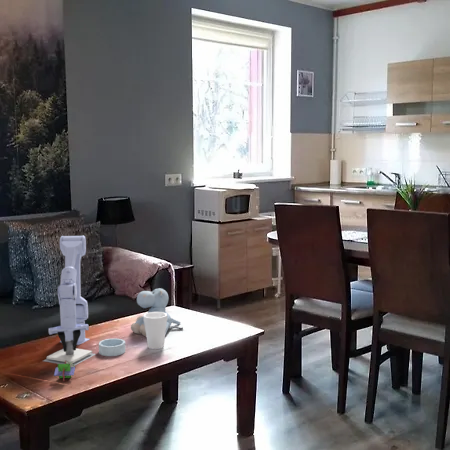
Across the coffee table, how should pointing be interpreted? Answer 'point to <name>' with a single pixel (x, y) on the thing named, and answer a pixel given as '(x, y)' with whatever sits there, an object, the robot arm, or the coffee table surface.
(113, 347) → the bowl
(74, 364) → the mat
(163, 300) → the light blue rounded figure
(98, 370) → the coffee table surface
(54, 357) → the lid
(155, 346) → the foam cup
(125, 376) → the coffee table surface
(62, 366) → the geometric puzzle
